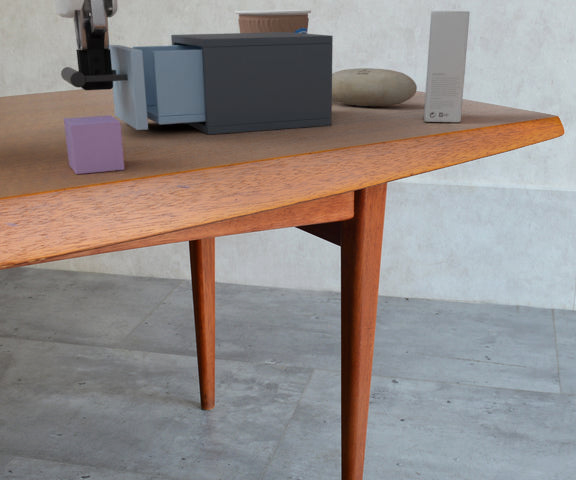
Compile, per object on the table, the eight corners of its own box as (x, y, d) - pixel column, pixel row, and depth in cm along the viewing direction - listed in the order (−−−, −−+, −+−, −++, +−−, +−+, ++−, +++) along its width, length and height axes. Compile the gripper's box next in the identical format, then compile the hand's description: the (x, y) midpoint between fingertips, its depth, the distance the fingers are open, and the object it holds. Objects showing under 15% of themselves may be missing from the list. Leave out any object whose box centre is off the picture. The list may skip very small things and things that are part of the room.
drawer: (79, 134, 73) (70, 52, 70) (63, 119, 83) (55, 46, 80) (259, 121, 80) (258, 46, 77) (225, 108, 90) (223, 41, 87)
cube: (76, 174, 60) (70, 124, 59) (69, 165, 64) (63, 118, 62) (124, 169, 62) (120, 121, 60) (115, 161, 65) (111, 115, 64)
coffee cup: (288, 107, 97) (287, 10, 93) (224, 102, 102) (220, 10, 98) (323, 98, 106) (324, 9, 101) (262, 95, 111) (261, 9, 106)
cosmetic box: (461, 123, 84) (470, 10, 79) (423, 122, 84) (430, 11, 80) (459, 115, 89) (467, 10, 85) (423, 115, 90) (430, 10, 86)
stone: (415, 89, 92) (325, 60, 93) (401, 132, 96) (315, 103, 98) (424, 70, 96) (338, 42, 97) (410, 112, 100) (328, 84, 102)
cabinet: (208, 134, 78) (203, 39, 74) (176, 119, 88) (171, 34, 85) (331, 125, 83) (332, 35, 80) (287, 111, 94) (286, 32, 90)
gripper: (30, -99, 76) (51, 84, 83) (47, -120, 63) (70, 98, 70) (103, -96, 79) (118, 81, 86) (133, -115, 66) (148, 94, 73)
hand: (97, 88), depth 78 cm, fingers closed
